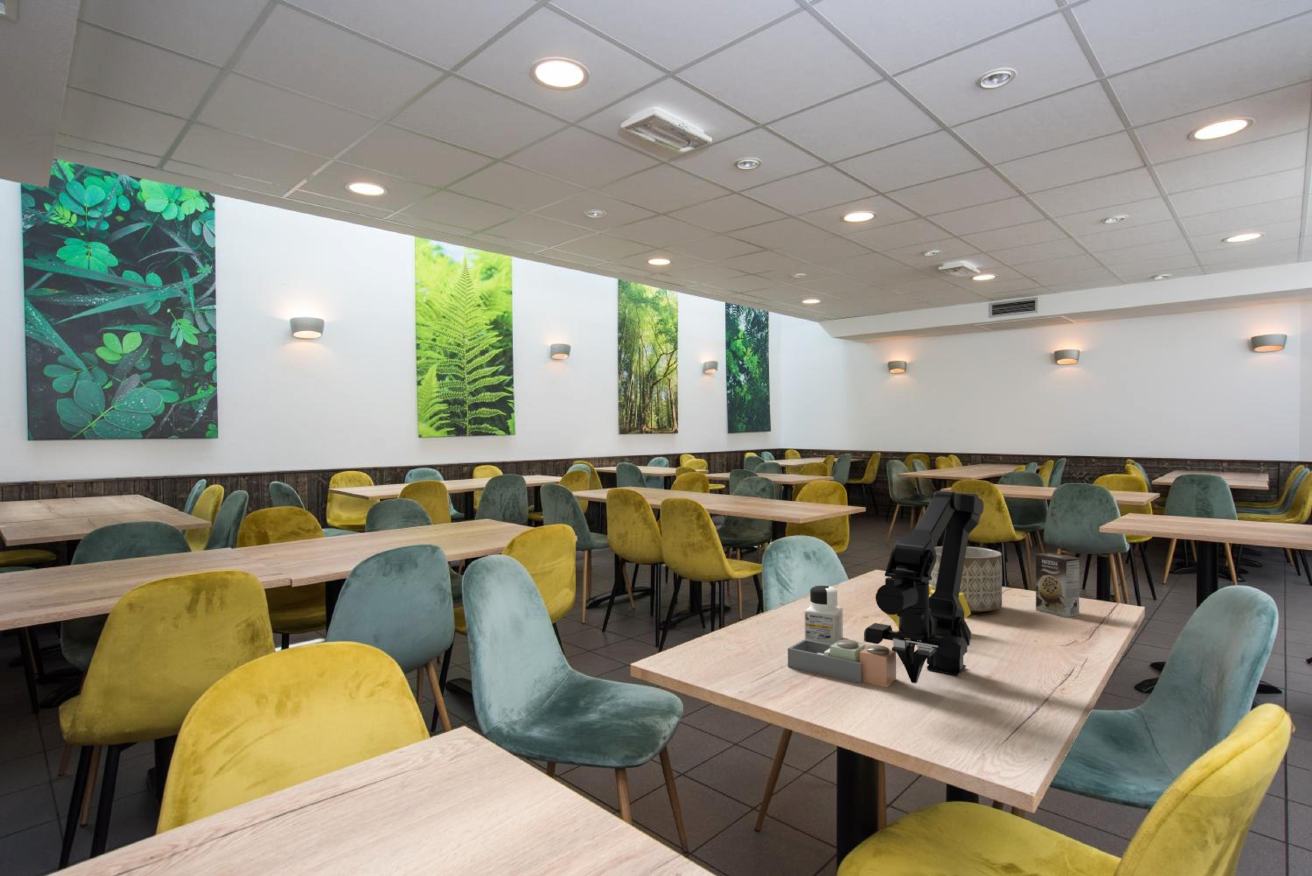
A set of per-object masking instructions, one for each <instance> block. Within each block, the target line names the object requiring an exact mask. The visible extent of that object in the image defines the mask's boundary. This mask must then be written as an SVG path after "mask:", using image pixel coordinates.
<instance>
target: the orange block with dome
mask: <svg viewBox="0 0 1312 876" xmlns="http://www.w3.org/2000/svg"><path fill="white" fill-rule="evenodd" d="M860 663H862V683H863V682H864V683H869V684H873V685H876V684H877V685H878V686H880V687H881V686H882V687H888V686H889V685H891V684H893V682H894V681H896V680H897V652H895V651H892V648H889V647H887V646H884V645H879V644H872V645H868V646H866V647H865V649H864V650H862V651H861V652H860Z"/></svg>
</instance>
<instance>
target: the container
mask: <svg viewBox="0 0 1312 876" xmlns="http://www.w3.org/2000/svg"><path fill="white" fill-rule="evenodd" d="M809 593H810V597H809V598H810V599H809V600H810V601H809V602H810V603H809V604H810V606H809V607H807V608H806V609H805V610H804V639H805V640H810V641H815V642H820V643H825V644H831V645H833V644H835V643H836V642H837V641H838V640H842V638H843V637H844V630H843V629H844V628H843V627H844V624H843V621H844V619H843V618H844V616H843V615H844V614H843V613H844V611H843V610H844V609H843V608H844V607H843V606H839V605H838V590H837V588H835V587H833V586H830V585H815V586H813V587H811V588H810V589H809Z"/></svg>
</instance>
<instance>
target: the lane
mask: <svg viewBox="0 0 1312 876" xmlns="http://www.w3.org/2000/svg"><path fill="white" fill-rule="evenodd" d="M830 646H831V644H825V643H820V642H815V641H810V640H805V638H804V639H803V640H801V641H799V642H797V643H796V644H793V645H791V646H790V647H788V648H787V667H789V668H793V669H796V670H801V671H805V672H810V673H814V674H818V675H823V676H827V677H832V678H836V679H841V680H845V681H849V682H854V683H858V684H862V683H863V681H862V663H859V662H854V661H850V660H845V659H840V658H835V657H831V656H826V655H821V654H817V653H822V654H824V652H825V651H826V650H828V649H830Z"/></svg>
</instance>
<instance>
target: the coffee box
mask: <svg viewBox="0 0 1312 876" xmlns="http://www.w3.org/2000/svg"><path fill="white" fill-rule="evenodd" d="M1080 561H1081V558H1080V557H1076V556H1071V555H1064V554H1058V553H1053V552H1044V553H1043V552H1040V553H1036V554H1035V610H1036V611H1040V612H1043V613H1046V614H1051V615H1055V616H1059V617H1061V618H1062V617H1063V618H1071V617H1076V616H1080Z"/></svg>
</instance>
